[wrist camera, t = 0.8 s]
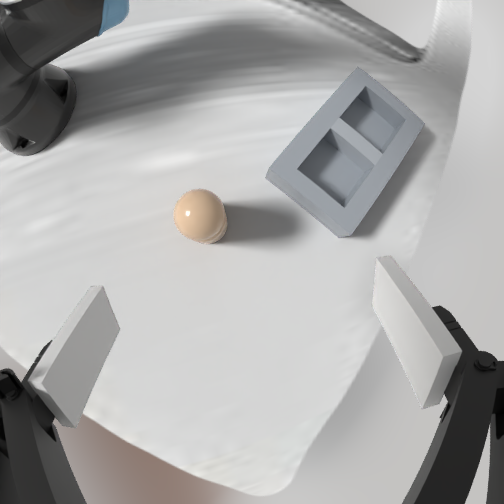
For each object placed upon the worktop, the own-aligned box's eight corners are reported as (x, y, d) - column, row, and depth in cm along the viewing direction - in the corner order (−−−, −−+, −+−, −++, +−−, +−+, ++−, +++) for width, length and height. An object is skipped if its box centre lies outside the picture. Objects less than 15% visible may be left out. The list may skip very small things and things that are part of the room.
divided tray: (265, 177, 39) (268, 168, 35) (347, 81, 40) (357, 66, 36) (338, 237, 40) (350, 235, 35) (409, 134, 40) (425, 123, 36)
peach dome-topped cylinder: (179, 227, 39) (157, 216, 28) (204, 195, 39) (192, 172, 28) (210, 252, 39) (200, 250, 28) (235, 220, 39) (235, 206, 28)
